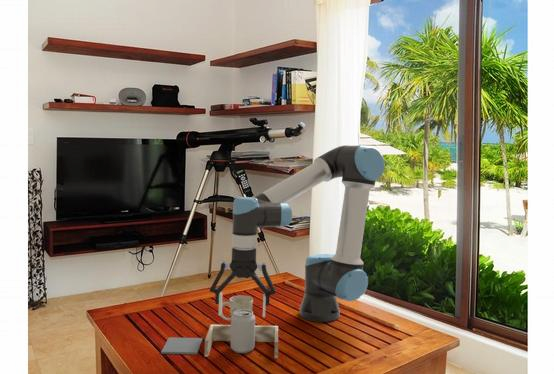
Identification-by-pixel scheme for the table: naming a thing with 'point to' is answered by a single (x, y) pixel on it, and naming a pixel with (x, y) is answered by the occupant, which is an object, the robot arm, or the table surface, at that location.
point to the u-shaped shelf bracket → (225, 335)
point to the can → (242, 331)
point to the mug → (238, 304)
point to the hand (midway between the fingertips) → (242, 315)
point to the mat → (182, 346)
